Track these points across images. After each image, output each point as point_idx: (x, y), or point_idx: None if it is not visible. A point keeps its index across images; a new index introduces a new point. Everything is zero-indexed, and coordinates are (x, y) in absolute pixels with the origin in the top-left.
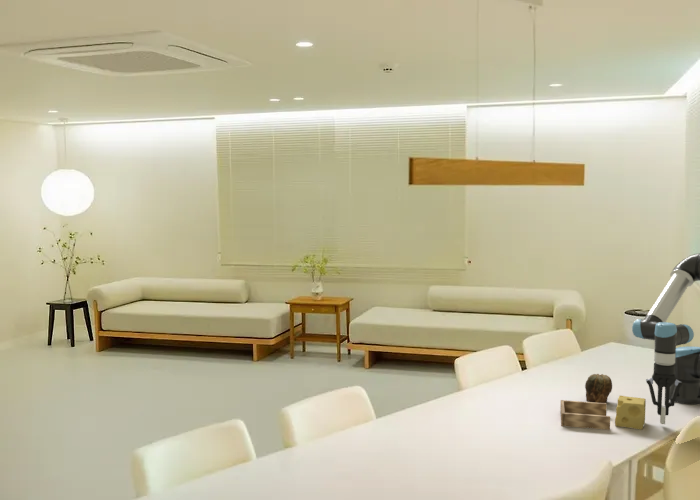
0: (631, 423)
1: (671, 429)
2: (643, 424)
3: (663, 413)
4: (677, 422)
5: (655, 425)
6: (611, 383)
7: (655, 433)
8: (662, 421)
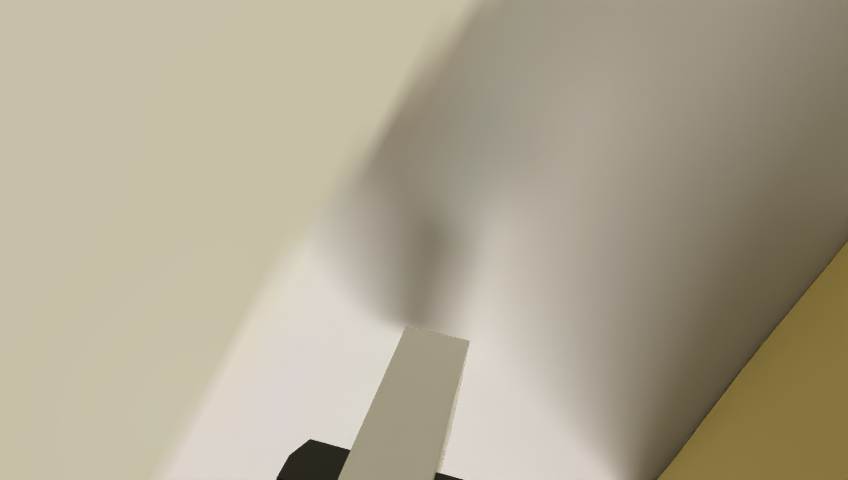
0: None
1: (343, 239)
2: (774, 365)
3: (388, 469)
4: (212, 475)
5: (522, 398)
6: None
7: (704, 9)
8: (440, 361)
